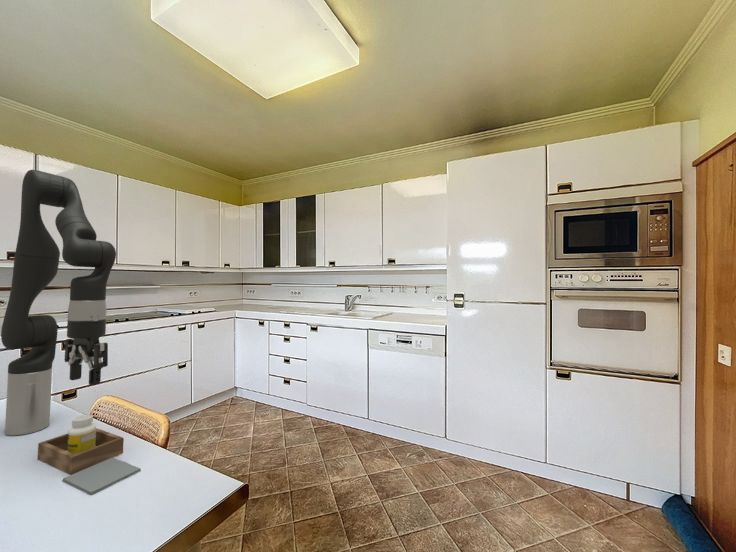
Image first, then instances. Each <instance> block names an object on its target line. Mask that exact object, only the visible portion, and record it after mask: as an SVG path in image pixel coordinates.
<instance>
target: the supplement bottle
mask: <svg viewBox="0 0 736 552" xmlns="http://www.w3.org/2000/svg"><path fill="white" fill-rule="evenodd" d="M93 420H94V416H93V414H81V415H78V416H75V417H73V418H72V421H71V425H72V426H71V427H70V428H69V429H68V431H67V434H68V448H67V452H70V453H72V454H74V455H75V454H78V453H80V452H83V451H86V450H88V449H91V448H93V447H96V446H95V443H96V428H97V425H96V424H95V423H94V421H93Z"/></svg>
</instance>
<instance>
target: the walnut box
mask: <svg viewBox="0 0 736 552" xmlns="http://www.w3.org/2000/svg"><path fill="white" fill-rule="evenodd" d="M124 441H125V439H124V437H123V436H120V435H118V434H114V433H111V432H108V431H105V430H103V429H100V428H97V427H96V443H95V447H93V448H91V449H88V450H86V451H83V452H80V453H78V454H75V455H74V454H72V453H70V452H67V448H68V433H64V434H62V435H59V436H56V437H53V438H50V439H46V440H44V441H41V442H38V445H37V459H36V460H37V461H40V462H41V463H44V464H46V465H48V466H50V467H53V468H54V469H57V470H59V471H61V472H63V473H65V474H67V475H68V476H70V475H72V474H74V473H77V472H79V471H81V470H84V469H86V468H89V467H91V466H93V465H96V464H98V463H100V462H103V461H105V460H107V459H110V458H112V457H113V458H115V457H118V456H120V455H122V453H123V454H124Z"/></svg>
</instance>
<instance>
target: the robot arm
mask: <svg viewBox="0 0 736 552" xmlns="http://www.w3.org/2000/svg"><path fill="white" fill-rule="evenodd" d="M20 201H21V202H20V203H21V204H20V219H19V220H20V222H19V228H18V229H19V230H18V236H17V243H16V247H15V252H14V261H13V267H12V268H13V269H12V270H13V271H12V279H11V285H10V286H11V287H10V292H9V298H8V302H7V304H6V305H7V306H6V309H5V312H4V317H3V321H2V325H1V331H0V336H1V338H0V339H1V343H2V345H3V346H4V347H3V348H6V349H8V350H19V349H28V348H30V350H29V351H28V352H27V353H25V354H24V355H23V356H21V357H18V358H16V359H14V360H12V361H11V362H10V363H8V364H7V365H8V366H7V386H6V400H5V401H6V402H5V403H6V404H5V407H6V408H5V420H4V421H5V422H4V424H5V425H4V434H5V435H6V436H21V435H27V434H28V435H29V434H31V433H36V432H39V431H42V430H44V429H47V428H48V427H49V426H50V424H51V423H50V421H51V420H50V419H51V403H52V402H51V401H52V380H53V379H52V378H53V363H54V360H55V358H56V349H57V348H56V347H57V343H58V342H57V341H58V323H57V321H56V319H55V318H54V317H53V315H49V314H39V315H38V314H37V315H29V314H30V311H31V310H30V309H31V308H32V306H33V303H34V301H35V300H36V298H37V297H38V296H39V295H40V294H41V293H42V292H43V291H44V289H45V288H46V287H47V286H48V285H50V284H51V282H52V281H53V280H54V279H55V277H56V276H57V274H58V270H59V265H60V257H61V256H62V260H63V261H64V262H65V263H66V264H68V265H69V266H72V267H75V268H76V267H77V268H94V269H93V271H92V272H91V274H88V275H83V276H77V277H74V278H73V277H72V279H71V280H70V286H69V287H70V288H69V289H70V291H69V292H70V293H69V304H68V308H67V323H66V324H67V325H66V326H67V327H66V337H67V339H66V340H65V347H64V349H65V350H64V360H63V361H64V362H65V363H67V364H68V366H69V381H76V380H81V378H82V369H83V368H82V367H83V365H82V364H83V362H84V363H85V364H87V366H88V368H89V370H88V385H89V386H95V385H99V384H100V383H101V373H102V371H101V370H102V369H103V368H105V367H108V366H109V364H108V363H109V362H108V361H109V357H108V356H109V355H108V353H109V351H108V350H109V349H108V344H109V343H108V342H100V338H101V337H103V336H105V335H106V332H107V330H106V329H107V301H106V297H107V284H108V280H109V277H110V274H111V271H112V270H113V269H112V268H113V267H114V264H115V262H116V258H117V251H116V248H115V246H114V245H113V244H112V243H110V241H106V240H97V237H98V236H97V232H96V230H95V229H94V227H93V225H92V224H91V223H90V221H89V219H88V217H87V216H86V213H85V210H84V205H83V201H82V199H81V195H80V193H79V188H78V186H77V185H76V182H74V181H73V180H72V179H70V178H69V177H65V176H61V175H58V174H54V173H50V172H46V171H41V170H37V169H29V170H27V172H26V173H25V174H24V177H23V180H22V185H21V200H20ZM41 205H44V206H48V207H56V208H63V209H62V210H60V211H59V212H58V214H57V215H56V217H55V221H54V224H55V227H56V230H57V232H58V233H59V235H60V237H61V239H62V252H60V249H59V246H58V244H57V242H56V241H55V240H54V238H53V236H52V235H51V233H50V232H49V230H48V228H47V227H46V226H45V223H44V221H43V218H42V215H41ZM61 253H62V254H61Z"/></svg>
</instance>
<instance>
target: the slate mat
mask: <svg viewBox="0 0 736 552" xmlns="http://www.w3.org/2000/svg"><path fill="white" fill-rule="evenodd" d="M139 472H141V468H140V467H138V466H135V465H133V464H130V463H129V462H125V461H123V460H120V459H118V458H115V457H112V458H110V459H107V460H105V461H103V462H100V463H98V464H96V465H93V466H91V467H89V468H86V469H84V470H81V471H79V472H77V473H74V474H72V475H67V476H66V477H63V478H62V482H64V483H66V484H68V485H69V486H72V487H73V488H75V489H77V490H79V491H81V492H83V493H86V494H87V495H89V496H93V495H95V494H97V493H100V492H101V491H103V490H105V489H107V488H110V487H111V486H114V485H115V484H117V483H119V482H121V481H123V480H126V479H127V478H129V477H132V476H134V475H135V474H138V473H139Z"/></svg>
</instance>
